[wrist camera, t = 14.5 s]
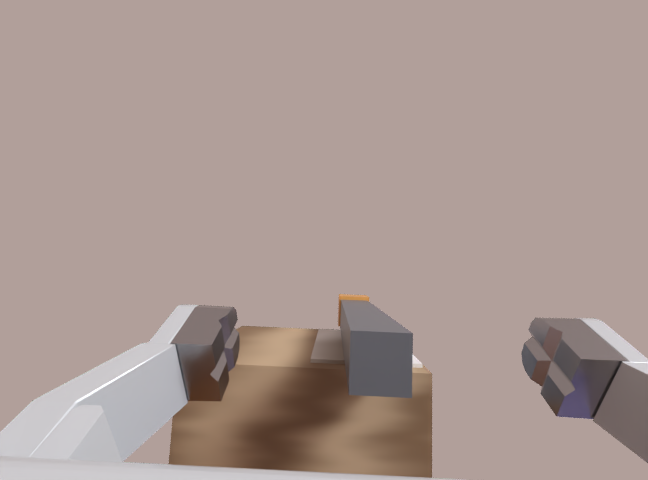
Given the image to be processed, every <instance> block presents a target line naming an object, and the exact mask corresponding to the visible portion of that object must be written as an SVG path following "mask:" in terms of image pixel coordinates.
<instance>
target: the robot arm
mask: <svg viewBox="0 0 648 480" xmlns="http://www.w3.org/2000/svg"><path fill="white" fill-rule="evenodd" d="M236 322H237V313H236V309H235V308H234V307H224V306H223V307H222V306H205V305H199V306H198V305H179V306H177V307H176V308H175V310H174V311H173V312H172V313H171V315H170V316H169V317H168V319H167V320H166V321H165V322H164V324H163V325H162V326H161V327H160V329H159V330H158V331H157V332H156V334H155V335H154V336H153V337H152V339H151V340H150V341H149V342H148V343H142V344H139V345H138V346H136V347H134V348H132V349H130V350H128V351H126V352H124V353H122V354H120V355H118V356H116V357H115V358H113V359H111V360H109V361H107V362H105V363H103V364H101V365H99V366H97V367H96V368H94V369H92V370H90V371H88V372H86V373H84V374H82V375H80V376H79V377H77V378H75V379H73V380H71V381H69V382H67V383H65V384H63V385H61V386H59V387H58V388H56V389H54V390H52V391H50V392H48V393H46V394H44V395H42V396H40V397H38V398H37V399H35V400H33V401H32V402H31V403H30V404H29V405H28V406H27V407H26V408H25V409H24V410H23V411H22V412H21V413H19V415H17V416H16V417H15V418H14V419H13V420H12V421H11V422H10V423H9V424H8V425H7V426H6V427H5V428H4V429H3V430H2V431H1V432H0V480H465V479H444V478H425V477H406V476H386V475H367V474H347V473H328V472H309V471H289V470H270V469H251V468H231V467H211V466H192V465H172V464H151V463H132V462H123V461H124V460H125V459H126V458H128V457H129V456H130V455H131V454H132V453H133V452H134V451H135V450H136V449H137V448H138V447H140V446H141V445H142V444H143V443H144V442H145V441H146V440H147V439H149V438H150V437H151V436H152V435H153V434H154V433H155V432H156V431H157V430H158V429H160V428H161V427H162V426H163V425H164V424H165V423H166V422H167V421H168V420H169V419H171V418H172V417H173V416H174V415H175V414H176V413H177V412H178V411H179V410H181V409H182V408H183V407H184V406H185V405H186V404H187V403H188V401H221V400H222V398H223V395H224V393H225V390H226V388H227V385H228V383H229V373H228V372H229V371H230V370H231V369H233V368H234V367H235V365H236V362H237V359H238V354H239V349H240V337H239V332H238V331H237V330H236V329H235V328H234V326H235V324H236ZM529 331H530V333H531V335H532V337H531V338H530V339H529V340H528V341H526V342H525V343H524V347H523V350H522V362H523V365H524V368H525V371H526V372H527V374H528V376H529V377H530V379H531V380H533V381H535V382H536V383H538V384H539V385H540V386H542V389H541V395H542V396H543V397H544V399H545V400H546V402H547V403H548V405H549V406H550V407H551V409H552V410H553V412H554V413H555V415H556V416H559V417H573V418H587V419H593V421H594V422H595V423H597V424H598V425H599V426H601V427H602V428H603V429H604V430H606V431H607V432H608V433H610V434H611V435H612V436H613V437H615V438H616V439H617V440H619V441H620V442H621V443H622V444H624V445H625V446H626V447H628V448H629V449H630V450H632V451H633V452H634V453H635V454H637V455H638V456H639V457H640V458H642V459H643V460H644V461H646V462H647V463H648V359H647V358H646V357H645V356H643V355H642V354H641V353H640V352H638V351H637V350H636V349H635V348H634V347H633V346H632V345H630V344H629V343H628V342H627V341H625V340H624V339H623V338H622V337H621V336H619V335H618V334H617V333H616V332H615V331H613V330H612V329H611V328H610V327H609V326H607V325H606V324H605V323H604V322H603V321H601V320H598V319H595V318H574V319H565V318H563V319H562V318H561V319H560V318H535V319H534V320H533V321H532V323H531V325H530V328H529Z"/></svg>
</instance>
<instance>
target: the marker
mask: <svg viewBox="0 0 648 480" xmlns="http://www.w3.org/2000/svg"><path fill="white" fill-rule="evenodd" d="M338 309H339V310H338V326H340V329H341V337H342V345H343V353H344V361H345V369H346V377H347V385H348V393H349V395H359V396H379V397H398V398H412V353H413V352H412V350H413V349H412V348H413V347H412V346H413V333H411V332H410V331H409V330H407V329H406V328H405V327H403V326H402V325H400V324H399V323H398V322H396V321H395V320H394V319H392V318H391V317H389V316H388V315H386V314H385V313H384V312H382V311H381V310H380V309H378V308H377V307H375V306H374V305H373V304H371V303H370V302H369V297H368V296H366V295H344V294H339V308H338Z"/></svg>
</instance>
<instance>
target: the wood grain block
mask: <svg viewBox="0 0 648 480" xmlns="http://www.w3.org/2000/svg"><path fill="white" fill-rule="evenodd" d="M236 330H237V331H238V332H239V337H240V349H239V354H238V359H237V362H236V365H235V367H234V368H233V369H231V370H230V371H229V372H228V373H229V383H228V385H227V388H226V390H225V393H224V395H223V398H222V400H221V401H188V403H187V404H186V405H185V406H184V407H183V408H182V409H181V410H179V411H178V412H177V413H176V414H175V415H174V416H173V420H172V433H171V444H170V455H169V464H172V465H192V466H211V467H231V468H251V469H270V470H289V471H309V472H328V473H347V474H367V475H386V476H406V477H425V478H432V373H431V372H430V371H429V370H428V369H427V368H426V367H425V366H424V365H423V364H422V363H421V362H420V361H419V360H418V359H417V358H416V357H415V356H414V355H413V354H412V398H398V397H379V396H359V395H349V393H348V385H347V377H346V369H345V361H344V353H343V345H342V337H341V330H334V329H300V328H277V327H255V326H241V327H240V328H238V329H236Z"/></svg>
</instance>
